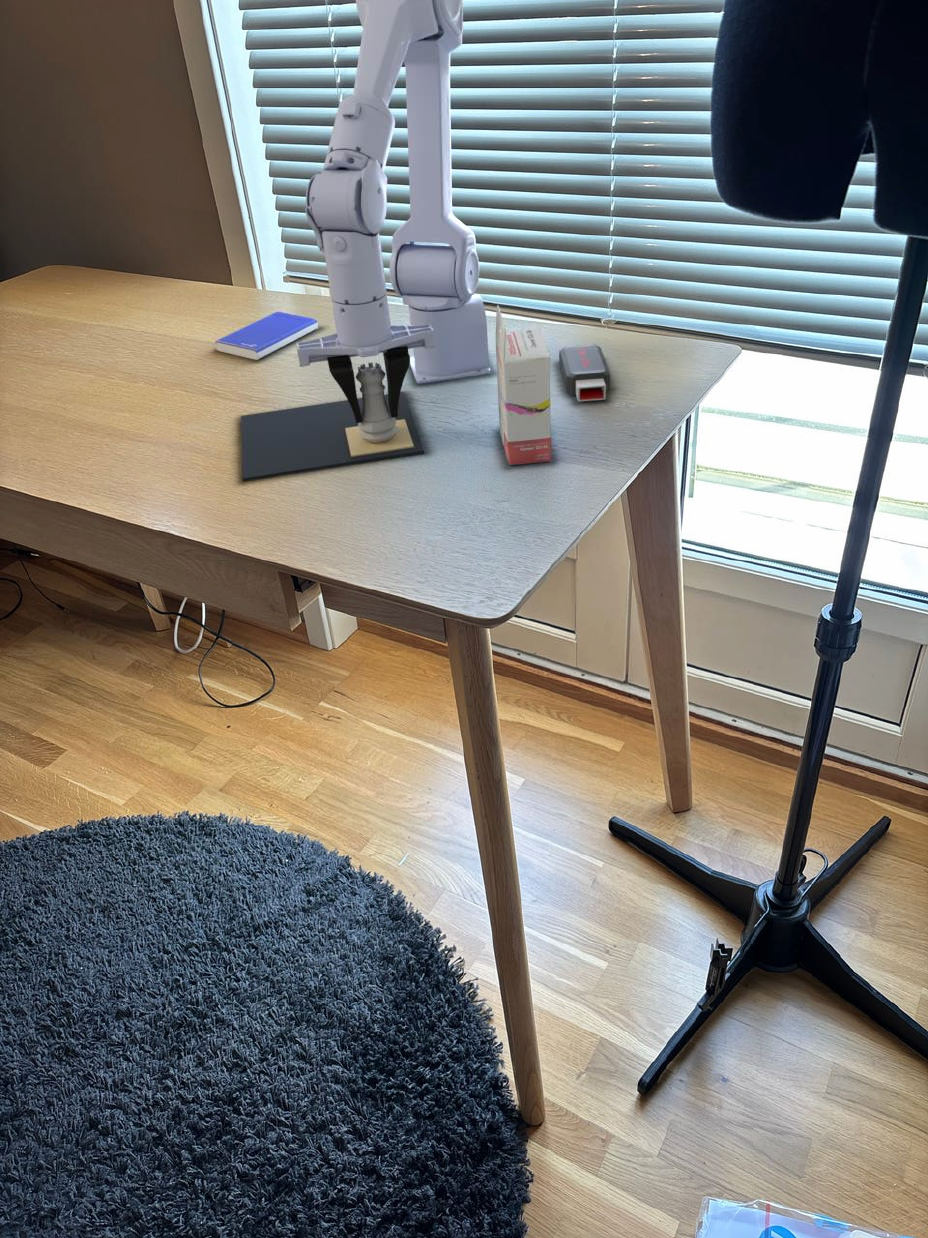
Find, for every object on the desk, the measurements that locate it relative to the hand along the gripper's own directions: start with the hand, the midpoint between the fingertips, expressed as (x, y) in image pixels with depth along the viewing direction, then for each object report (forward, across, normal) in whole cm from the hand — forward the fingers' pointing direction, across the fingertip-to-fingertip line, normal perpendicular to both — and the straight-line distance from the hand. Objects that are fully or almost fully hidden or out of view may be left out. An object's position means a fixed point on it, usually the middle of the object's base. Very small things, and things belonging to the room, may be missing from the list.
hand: (375, 416), depth 107 cm
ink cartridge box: (+3, +16, -6) cm, 17 cm away
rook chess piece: (+2, 0, 0) cm, 2 cm away
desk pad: (+3, -6, +4) cm, 7 cm away
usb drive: (+3, +26, +8) cm, 28 cm away
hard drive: (+3, -12, +36) cm, 38 cm away
